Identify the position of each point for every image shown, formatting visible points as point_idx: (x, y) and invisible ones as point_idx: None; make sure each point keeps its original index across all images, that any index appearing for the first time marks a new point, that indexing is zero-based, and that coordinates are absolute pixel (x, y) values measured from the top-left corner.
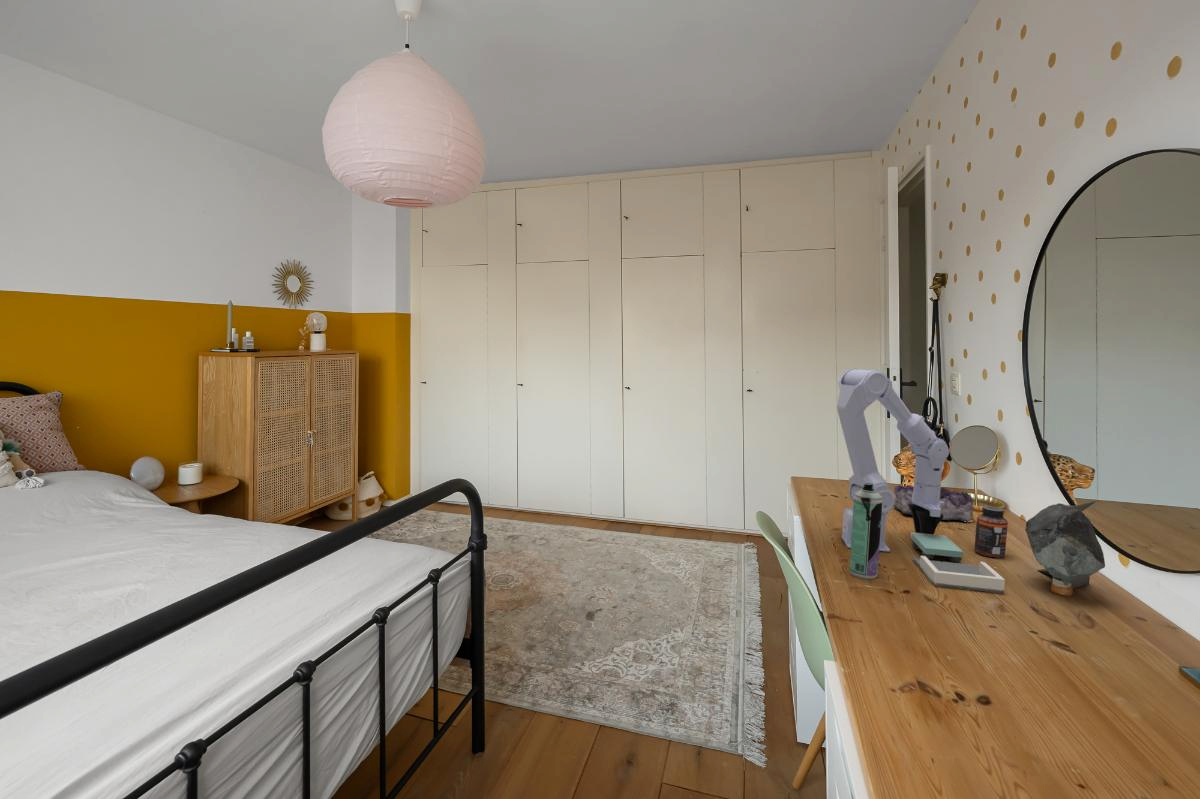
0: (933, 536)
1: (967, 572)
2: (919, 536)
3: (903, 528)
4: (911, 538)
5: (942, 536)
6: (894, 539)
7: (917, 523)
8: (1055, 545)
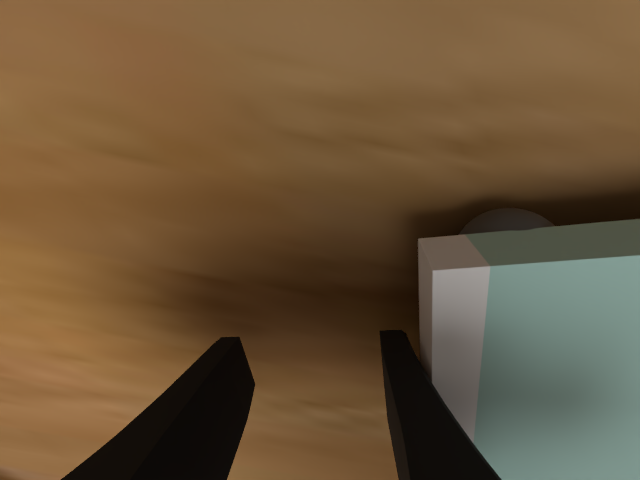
0: (511, 388)
1: None
2: (538, 477)
3: (85, 363)
4: None
5: (486, 309)
6: (335, 437)
7: (219, 463)
8: None
